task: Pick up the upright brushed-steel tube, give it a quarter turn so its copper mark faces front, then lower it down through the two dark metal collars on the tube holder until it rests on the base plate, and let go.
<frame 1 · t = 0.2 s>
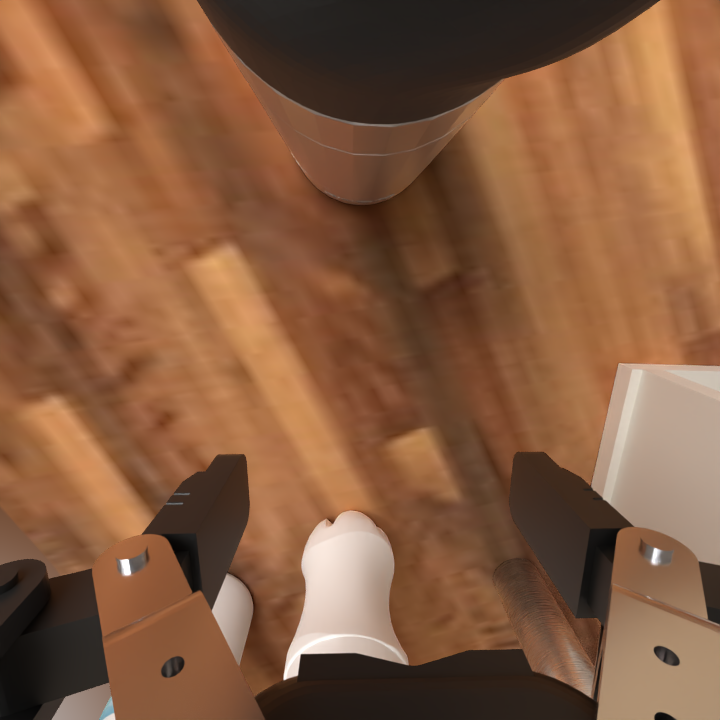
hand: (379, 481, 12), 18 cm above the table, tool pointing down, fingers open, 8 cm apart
water bottle: (348, 535, 33), on the table
milk bottle: (212, 598, 35), on the table
steel tube: (515, 576, 35), on the table
tube holder: (708, 448, 32), on the table
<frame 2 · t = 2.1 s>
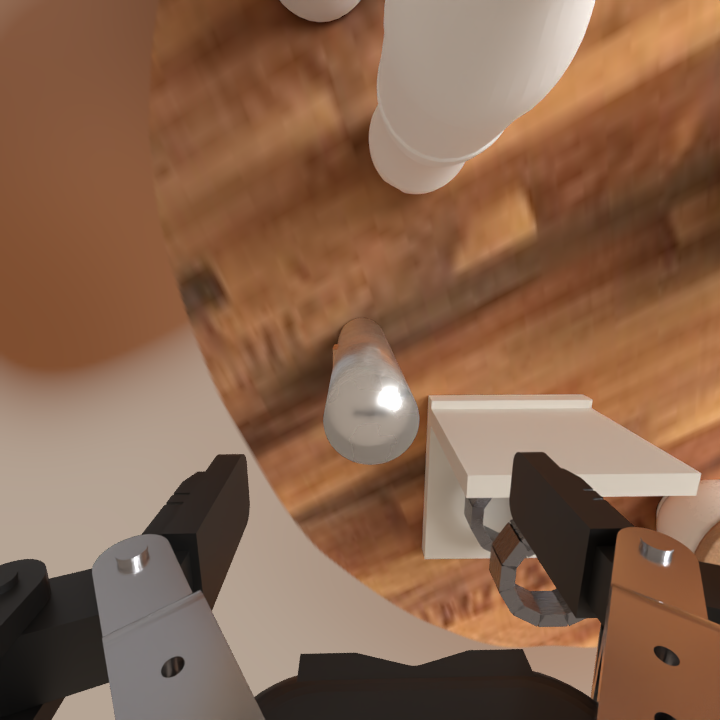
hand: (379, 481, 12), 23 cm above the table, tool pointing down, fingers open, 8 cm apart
water bottle: (412, 151, 30), on the table
collars: (533, 518, 30), point 7 cm above the table
steel tube: (361, 340, 34), on the table
tube holder: (497, 484, 37), on the table
lidded jar: (685, 508, 38), on the table
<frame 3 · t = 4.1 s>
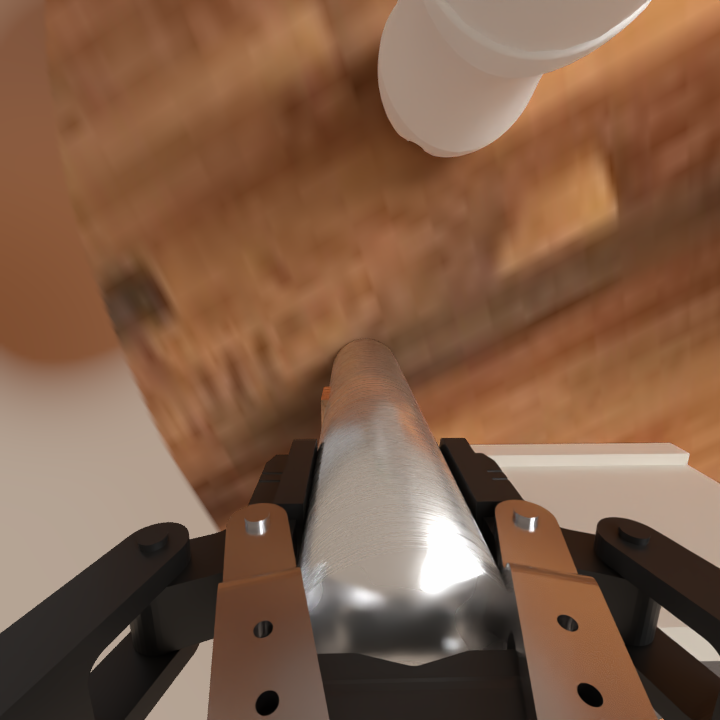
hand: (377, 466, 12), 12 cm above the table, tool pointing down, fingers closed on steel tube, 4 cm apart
water bottle: (441, 96, 21), on the table
steel tube: (365, 370, 24), on the table, touching gripper
tube holder: (548, 561, 27), on the table
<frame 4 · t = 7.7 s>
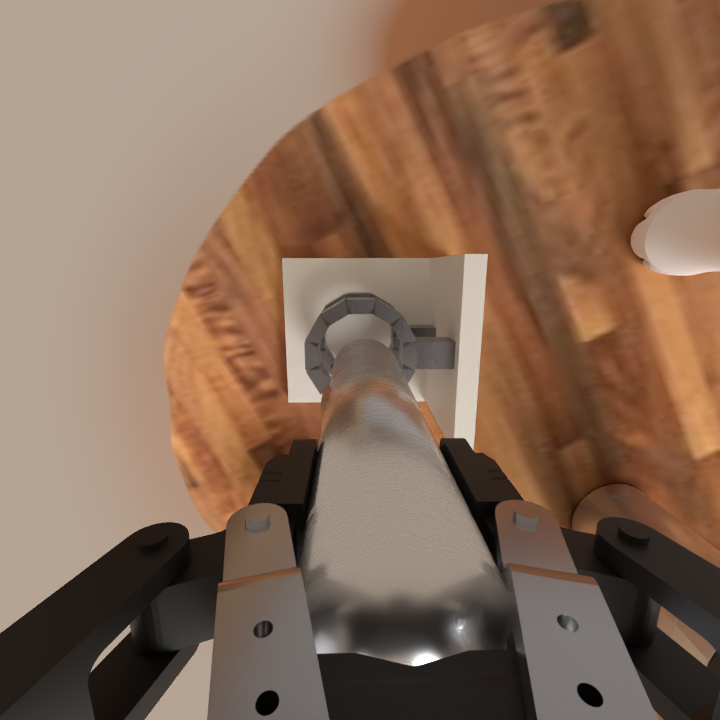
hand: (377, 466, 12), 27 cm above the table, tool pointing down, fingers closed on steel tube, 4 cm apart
water bottle: (656, 236, 38), on the table
collars: (377, 344, 32), point 7 cm above the table
steel tube: (365, 370, 24), point 16 cm above the table, touching gripper
tube holder: (357, 330, 39), on the table
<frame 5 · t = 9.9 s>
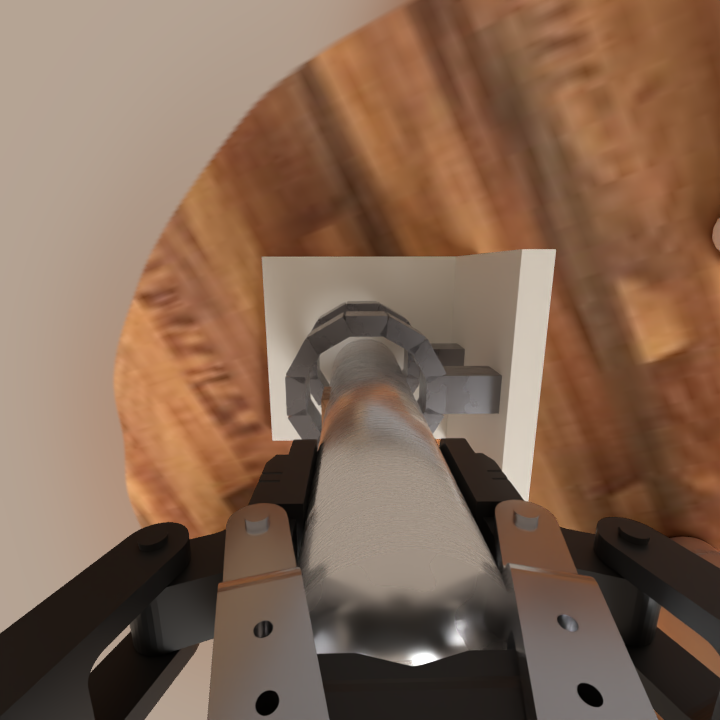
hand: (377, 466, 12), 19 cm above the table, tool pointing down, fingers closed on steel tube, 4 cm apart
collars: (388, 373, 24), point 7 cm above the table
steel tube: (365, 370, 24), point 7 cm above the table, touching gripper
tube holder: (360, 349, 31), on the table
when the fingers open (15 cm above the table, at t = 11.6 s): steel tube drops 1 cm, resting on tube holder.
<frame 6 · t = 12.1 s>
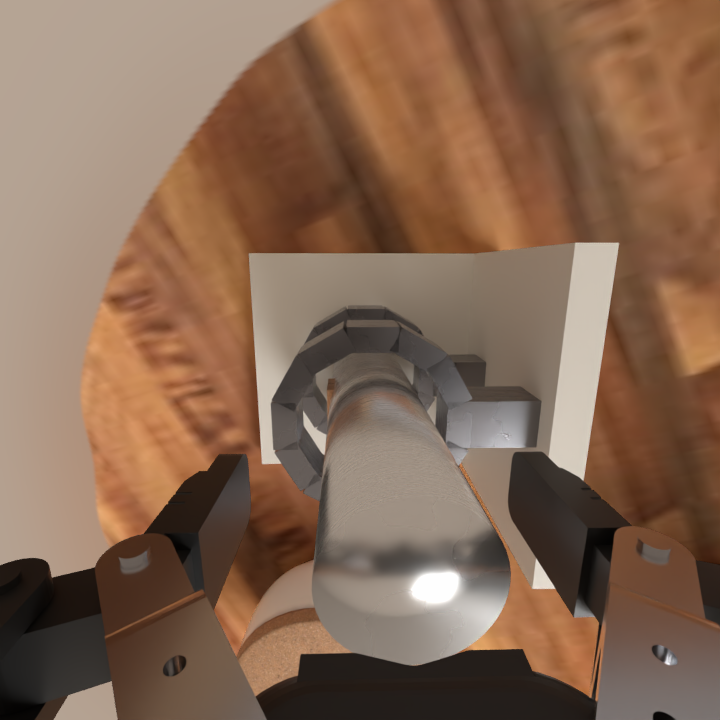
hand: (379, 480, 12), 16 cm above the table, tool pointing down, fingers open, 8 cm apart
collars: (397, 392, 20), point 7 cm above the table
steel tube: (364, 365, 25), point 2 cm above the table, touching tube holder
tube holder: (363, 359, 27), on the table
lidded jar: (325, 588, 31), on the table
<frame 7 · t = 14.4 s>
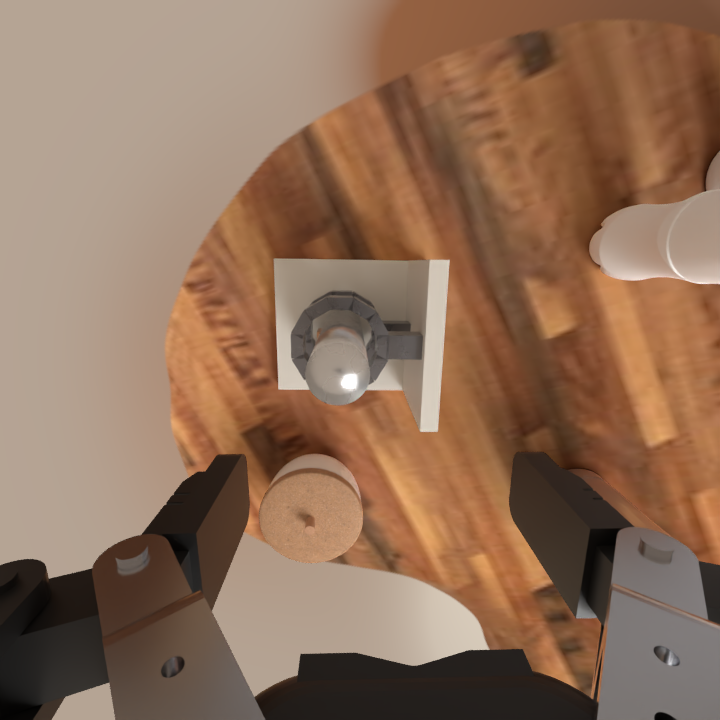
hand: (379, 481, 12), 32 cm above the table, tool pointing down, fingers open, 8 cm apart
water bottle: (612, 244, 42), on the table
collars: (357, 337, 36), point 7 cm above the table
steel tube: (342, 327, 41), point 2 cm above the table, touching tube holder
tube holder: (342, 325, 43), on the table
lidded jar: (317, 478, 48), on the table
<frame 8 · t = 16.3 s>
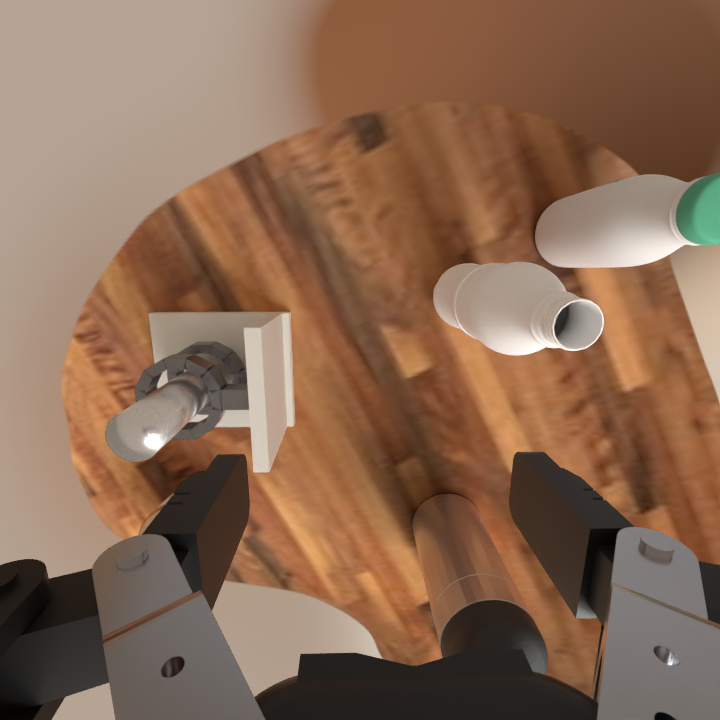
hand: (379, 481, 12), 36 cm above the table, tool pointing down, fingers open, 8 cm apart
water bottle: (458, 294, 46), on the table
collars: (211, 386, 41), point 7 cm above the table
milk bottle: (564, 233, 45), on the table
steel tube: (215, 372, 46), point 2 cm above the table, touching tube holder
tube holder: (219, 369, 48), on the table
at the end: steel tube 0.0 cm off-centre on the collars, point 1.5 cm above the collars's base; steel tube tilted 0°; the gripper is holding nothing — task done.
